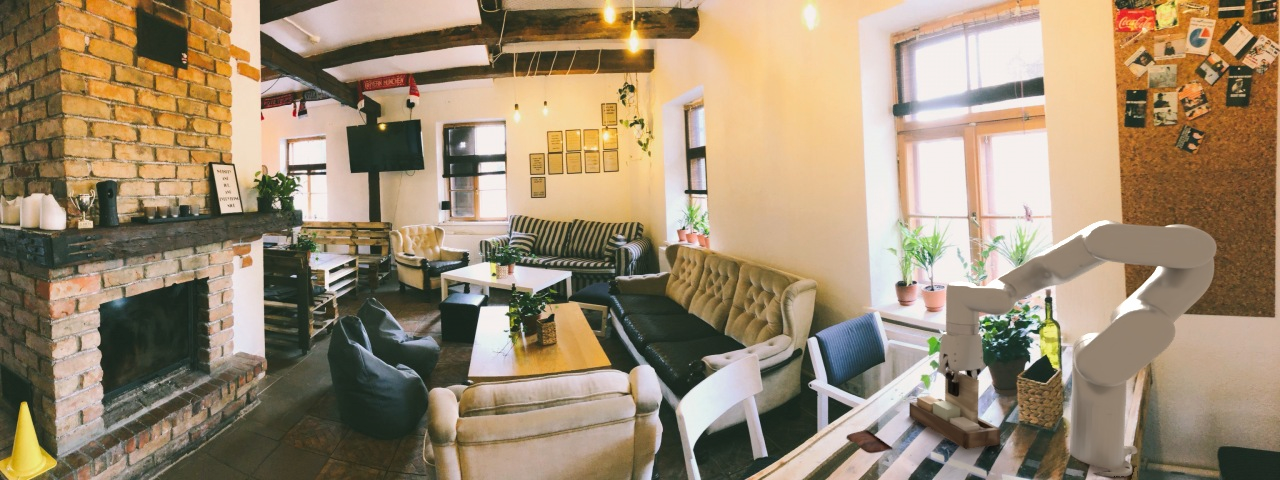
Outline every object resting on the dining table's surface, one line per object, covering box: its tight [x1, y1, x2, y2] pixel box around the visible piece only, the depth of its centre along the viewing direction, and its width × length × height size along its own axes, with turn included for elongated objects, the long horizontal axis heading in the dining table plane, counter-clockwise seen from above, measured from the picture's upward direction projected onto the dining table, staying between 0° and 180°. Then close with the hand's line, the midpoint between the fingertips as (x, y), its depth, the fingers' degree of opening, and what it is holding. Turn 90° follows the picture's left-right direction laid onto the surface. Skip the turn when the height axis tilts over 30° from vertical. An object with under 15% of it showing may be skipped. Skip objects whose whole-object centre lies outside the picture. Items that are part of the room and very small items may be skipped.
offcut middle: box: [933, 400, 960, 423], centre depth 136 cm, size 4×5×7 cm
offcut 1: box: [916, 395, 940, 413], centre depth 142 cm, size 4×5×6 cm
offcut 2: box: [950, 417, 979, 432], centre depth 131 cm, size 4×5×5 cm
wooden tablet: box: [846, 429, 893, 453], centre depth 138 cm, size 26×2×10 cm
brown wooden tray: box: [908, 398, 1002, 450], centre depth 137 cm, size 10×20×6 cm, turn 10°
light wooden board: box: [944, 369, 980, 424], centre depth 137 cm, size 2×9×15 cm, turn 10°
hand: (961, 393), depth 137 cm, fingers open, 4 cm apart
